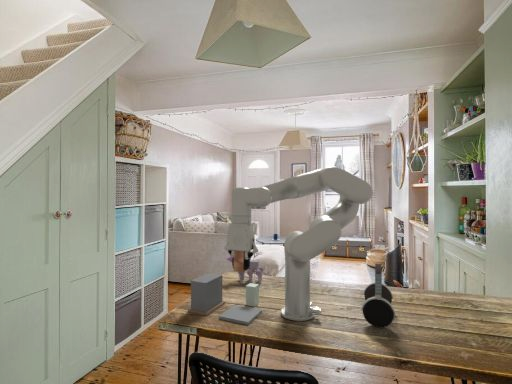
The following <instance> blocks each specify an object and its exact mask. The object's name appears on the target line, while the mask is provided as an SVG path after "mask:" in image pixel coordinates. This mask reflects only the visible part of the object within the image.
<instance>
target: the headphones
mask: <svg viewBox="0 0 512 384" xmlns="http://www.w3.org/2000/svg"><path fill="white" fill-rule="evenodd" d="M374 266H375V268H374V271H375V273H374V275H375V276H374V282H372V283H369V284H368V285H367V286H366V287H365V289H364V290H363V294H362V295H363V296H364V300H365V301H364V302H363V304H362V306H361V311H362V315H363V317H364V320H366V322H367V323H368V324H370V325H371V326H372V327H376V328H386V327H388V326H390V325H391V324H392V323H393V321H394V318H395V317H396V311H395V309H394V306H393V304H392V303H393V301H392V300H393V299H394V296H393V293H392V291H391V289H390V288H389V287H388V286H387V285H386V284H384V283H382V282H383V281H382V279H383V278H382V277H383V275H382V263H377V262H376V263H375V264H374Z"/></svg>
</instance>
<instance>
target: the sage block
mask: <svg viewBox="0 0 512 384" xmlns="http://www.w3.org/2000/svg"><path fill="white" fill-rule="evenodd" d="M245 286H246V287H245V306H248V307H252V308H254V307H256V306H257V305H259V303H260V300H259V299H260V289H259V288H260V284H258V283H253V282H252V283H250V282H249V283H248V284H246V285H245Z"/></svg>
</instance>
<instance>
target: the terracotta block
mask: <svg viewBox="0 0 512 384" xmlns="http://www.w3.org/2000/svg"><path fill="white" fill-rule="evenodd" d="M244 259H245V254H244V252H243V251H234V269H233V272H237V273H238V272H245V273H246V272H247V271H248V270H249V269H247V270H244Z"/></svg>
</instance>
